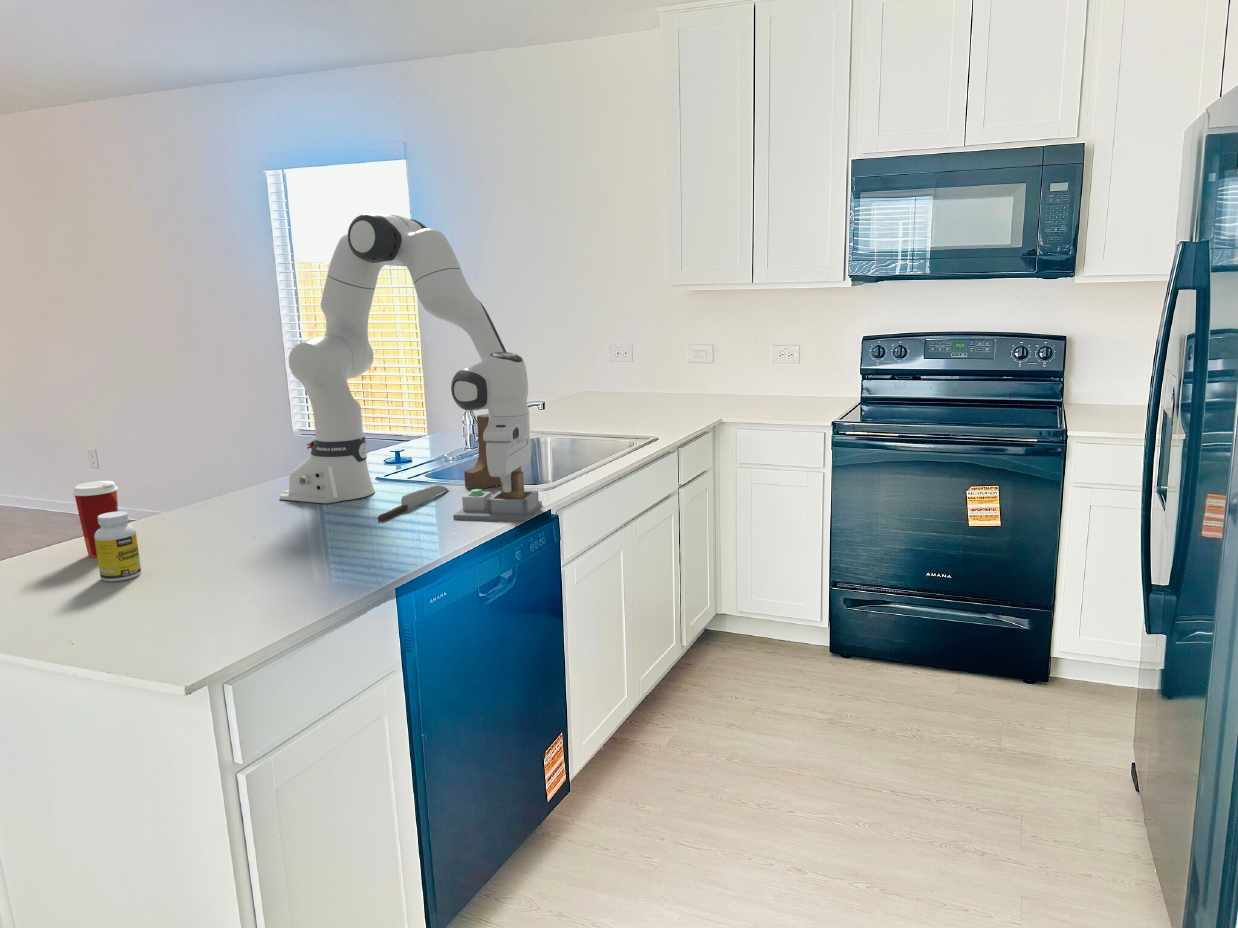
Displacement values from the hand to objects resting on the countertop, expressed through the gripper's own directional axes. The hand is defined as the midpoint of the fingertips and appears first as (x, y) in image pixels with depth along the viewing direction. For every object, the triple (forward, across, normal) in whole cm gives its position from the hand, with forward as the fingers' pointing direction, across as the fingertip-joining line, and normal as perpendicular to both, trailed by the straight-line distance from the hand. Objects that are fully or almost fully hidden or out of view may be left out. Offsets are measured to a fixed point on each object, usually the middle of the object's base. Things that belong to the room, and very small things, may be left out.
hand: (512, 488), depth 194 cm
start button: (+4, 0, -8) cm, 9 cm away
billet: (+5, 0, 0) cm, 5 cm away
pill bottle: (+6, +51, -57) cm, 77 cm away
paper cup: (+6, +39, -71) cm, 82 cm away
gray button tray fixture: (+6, 0, -3) cm, 7 cm away
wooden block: (+6, -24, -15) cm, 29 cm away
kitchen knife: (+6, -4, -25) cm, 26 cm away
